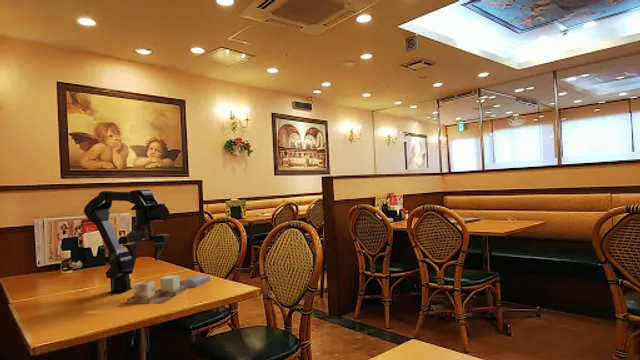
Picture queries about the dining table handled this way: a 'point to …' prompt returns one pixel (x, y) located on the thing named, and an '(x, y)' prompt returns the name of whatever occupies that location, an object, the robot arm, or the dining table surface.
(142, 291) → the oak block
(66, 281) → the dining table surface
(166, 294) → the walnut base board
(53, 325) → the dining table surface
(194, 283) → the stone block
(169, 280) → the sage block
